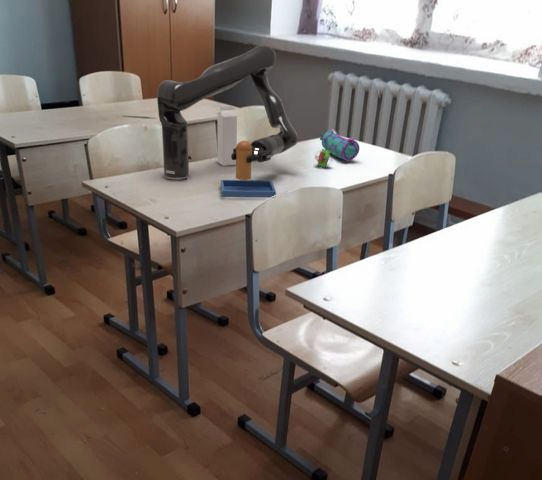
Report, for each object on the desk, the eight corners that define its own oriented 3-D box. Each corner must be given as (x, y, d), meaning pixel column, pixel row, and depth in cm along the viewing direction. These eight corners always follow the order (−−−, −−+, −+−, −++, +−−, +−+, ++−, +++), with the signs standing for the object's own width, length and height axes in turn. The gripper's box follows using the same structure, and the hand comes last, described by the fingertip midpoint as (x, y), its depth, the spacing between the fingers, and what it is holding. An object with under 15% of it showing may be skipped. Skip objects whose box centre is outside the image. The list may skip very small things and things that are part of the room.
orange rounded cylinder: (235, 175, 212) (236, 138, 205) (250, 175, 212) (251, 139, 205) (236, 179, 207) (237, 142, 200) (251, 180, 208) (252, 143, 201)
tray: (220, 187, 217) (220, 179, 215) (271, 188, 219) (271, 180, 217) (222, 198, 206) (222, 190, 205) (275, 199, 208) (275, 191, 207)
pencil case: (318, 150, 268) (320, 128, 263) (335, 149, 271) (337, 127, 266) (341, 163, 252) (344, 139, 247) (359, 161, 255) (362, 138, 250)
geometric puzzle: (325, 156, 251) (319, 142, 245) (337, 160, 247) (332, 146, 241) (315, 169, 250) (309, 155, 243) (328, 173, 246) (322, 159, 240)
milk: (217, 162, 244) (216, 105, 232) (230, 160, 246) (231, 104, 235) (223, 166, 240) (222, 108, 228) (236, 164, 242) (237, 107, 230)
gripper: (280, 162, 216) (257, 173, 203) (246, 155, 221) (222, 165, 209) (281, 141, 212) (258, 151, 199) (247, 135, 217) (222, 143, 205)
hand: (240, 158), depth 204 cm, fingers closed on orange rounded cylinder, 5 cm apart
